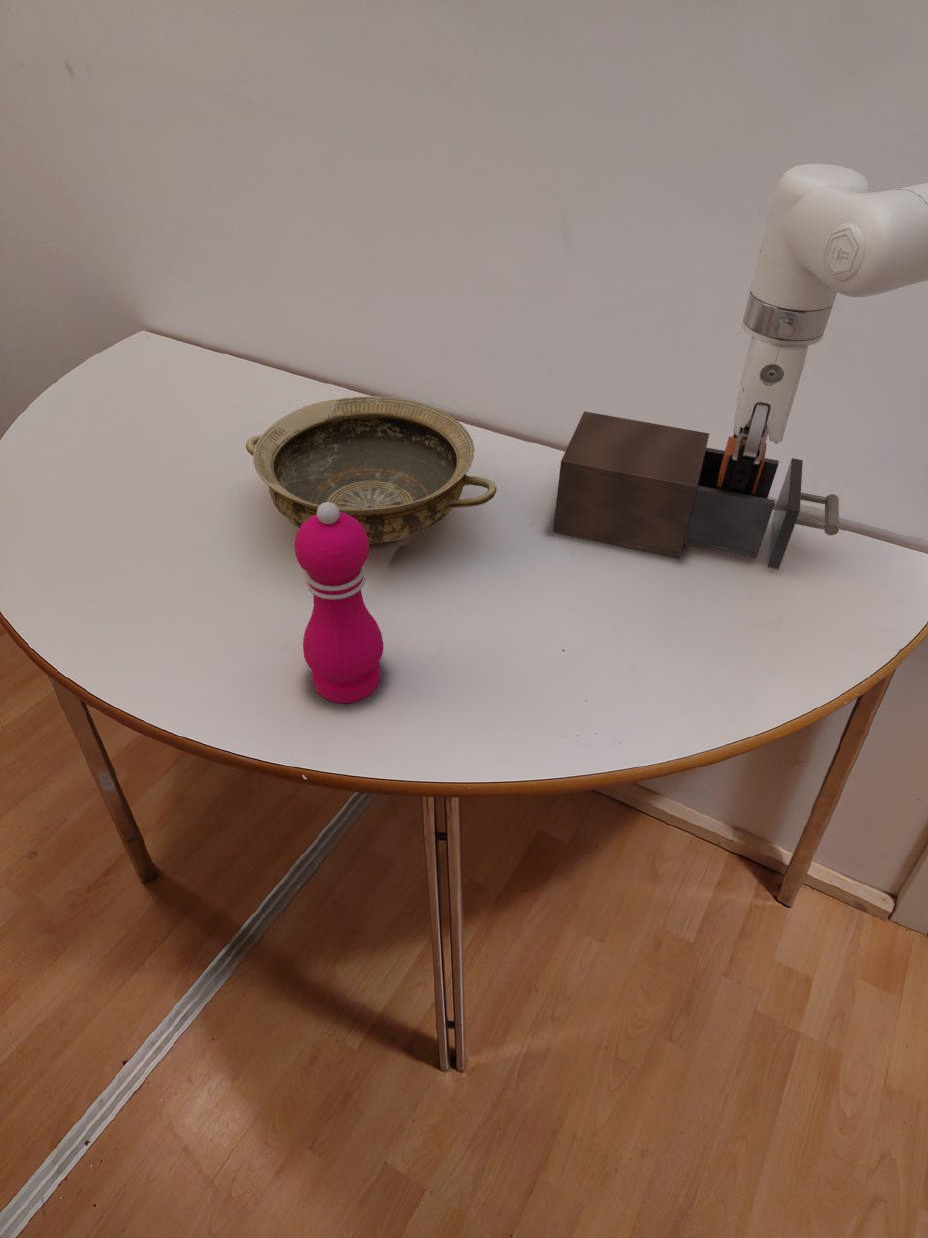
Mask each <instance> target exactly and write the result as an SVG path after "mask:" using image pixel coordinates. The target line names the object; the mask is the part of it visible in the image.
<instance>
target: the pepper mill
mask: <svg viewBox="0 0 928 1238" xmlns="http://www.w3.org/2000/svg"><path fill="white" fill-rule="evenodd" d="M369 554H370V544H369V541H368V537H367V533H366V531H365V530H364V528H363V526H362V525H361V524H360V523H359V522H358V520H356V519H355V518H353V517H352V516H350V515H348V514H345V513H342V512H339V509H338V507H337V506H336V505H335V504H334V503H331V502H325V503H322V504H321V505H320V506H319V507H318V509H317V514H316V515H314V516H312V517H310V518H309V519H307V520H306V521H305V522H304V523H303V524H302V525H301V527H300V528H298V529H297V531H296V534H295V539H294V555H295V559H296V560H297V562H298V565H299V566H300V568H301V569H302V570H304V571H303V573H304V574H303V575H304V578H305V585H306V588H307V590H308V591H309V592H310V593H311V594H312V595H313V596H312V597H313V607H312V613H311V615H310V618H309V621H308V622H307V625H306V627H305V630H304V634H303V639H302V650H303V651H302V652H303V657H304V660H305V663H306V664H307V666H308V667H309V668H310V669H311V674H312V682H313V686H314V689H315V690H316V692H317V694H319V696H321V697H322V698H324V699H326V700H328V701H329V702H332V703H336V704H337V703H339V704H352V703H355V702H359V701H362V700H364V699H366V698H368V697H369V696H370V695H372V694H373V693H374V692H375V691H376V690H377V688H378V686H379V684H380V681H381V668H380V667H381V666H380V661H381V660H382V658H383V653H384V641H383V635H382V631H381V629H380V627H379V624H378V622H377V621H376V619H375V618H374V616H373V615H372V614H371V612H370V611H369V610H368V608H367V607H366V604H365V602H364V599H363V593H362V589H363V587H364V585H365V584H366V580H367V577H366V567H365V563H366V561H367V559H368V557H369Z"/></svg>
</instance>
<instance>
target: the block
mask: <svg viewBox="0 0 928 1238" xmlns="http://www.w3.org/2000/svg"><path fill="white" fill-rule="evenodd" d="M736 441H737V438H736V437H733V436H728V438H727V442H726V445H725V448H724V451H725V452H724V456H723V460H722V463H721V467H720V472H719V477H718V482H717V486H718V487H722V482H723V479H724V475H725V471H726V468H727V464H728V461H729V457H730V455H733V452H734V449H735V445H736ZM746 441H747V439H743V441H742V444H744V445H745V444H746ZM742 444H741V446H742ZM766 452H767V442H765V446H764V449H763V453H762V456H761V459H760V461H761V465H760V468H759V472H758V475H757V478H756V481H755V485H754V488H753V491H752V493H755V490H756V487H757V484H758V481H759V478H760V474H761V471H762V468H763V465H764V461H765V458H766Z"/></svg>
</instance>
